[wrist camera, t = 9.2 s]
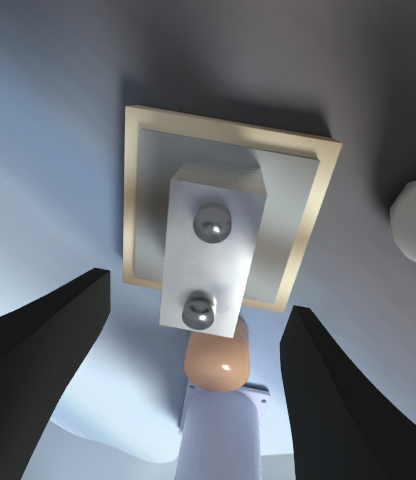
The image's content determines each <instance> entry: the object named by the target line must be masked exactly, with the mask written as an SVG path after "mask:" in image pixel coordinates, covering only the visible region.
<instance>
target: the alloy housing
mask: <svg viewBox="0 0 416 480" xmlns="http://www.w3.org/2000/svg"><path fill="white" fill-rule="evenodd" d="M266 199H267V191H266V187H265V183H264V179H263V174H262V170H261V167H255V166H249V165H243V164H237V163H231V162H225V161H218V160H212V159H206V158H200V157H194V156H190V157H189V158H188V159H187V160H186V162H185V163H184V164H183V165H182V166H181V168H180V169H179V170H178V171H177V172H176V173H175V175H174V176H173V177H172V178H171V180H170V193H169V206H168V219H167V232H166V245H165V257H164V270H163V283H162V296H161V309H160V321H159V325H164V326H169V327H175V328H180V329H186V330H191V331H196V332H202V333H207V334H213V335H218V336H224V337H229V338H233V336H234V332H235V328H236V324H237V320H238V315H239V311H240V307H241V303H242V299H243V295H244V291H245V286H246V282H247V278H248V274H249V270H250V266H251V261H252V257H253V253H254V249H255V245H256V241H257V237H258V232H259V228H260V224H261V220H262V216H263V212H264V208H265V203H266Z"/></svg>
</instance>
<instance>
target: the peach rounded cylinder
mask: <svg viewBox="0 0 416 480" xmlns="http://www.w3.org/2000/svg"><path fill="white" fill-rule="evenodd" d="M183 368H184V372H185V375H186V376H187V378H188V379H189V380H190V381H191V382H192V383H193V384H194V385H196V386H198V387H199V388H202V389H204V390H207V391H211V392H229V391H233V390H236V389H238V388H240V387H241V386H243V385H244V384H245V383H246V381H247V380H248V378H249V374H250V365H249V331H248V327H247V325H246V323H245V322H244V320H243V319H242V318H241V317H239V316H238V320H237V324H236V328H235V332H234V336H233V338H229V337H224V336H218V335H213V334H207V333H202V332H196V331H191V332H190V337H189V342H188V346H187V351H186V355H185V360H184V365H183Z"/></svg>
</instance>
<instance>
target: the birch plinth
mask: <svg viewBox="0 0 416 480" xmlns="http://www.w3.org/2000/svg"><path fill="white" fill-rule="evenodd" d="M342 144H343V143H341V142H339V141H337V140H335V139H333V138H328V137H322V136H316V135H310V134H304V133H298V132H292V131H287V130H281V129H275V128H269V127H263V126H257V125H252V124H246V123H240V122H234V121H228V120H222V119H216V118H211V117H205V116H199V115H193V114H187V113H181V112H176V111H170V110H164V109H158V108H152V107H146V106H140V105H132V106H125V164H124V229H123V283H128V284H133V285H138V286H144V287H149V288H154V289H160V290H162V283H163V270H164V257H165V245H166V232H167V219H168V206H169V193H170V180H171V178H172V177H173V176H174V175H175V173H176V172H177V171H178V170H179V169H180V168H181V166H182V165H183V164H184V163H185V162H186V160H187V159H188V158H189V157H190V156H194V157H200V158H206V159H212V160H218V161H225V162H231V163H237V164H243V165H249V166H255V167H261V170H262V174H263V179H264V183H265V187H266V191H267V199H266V203H265V208H264V212H263V216H262V220H261V224H260V228H259V232H258V237H257V241H256V245H255V249H254V253H253V257H252V261H251V266H250V270H249V274H248V278H247V282H246V286H245V291H244V295H243V299H242V303H241V305H244V306H250V307H255V308H260V309H265V310H271V311H276V312H281V313H283V312H284V309H285V307H286V304H287V301H288V298H289V295H290V292H291V289H292V287H293V284H294V281H295V278H296V275H297V272H298V269H299V267H300V264H301V261H302V258H303V255H304V252H305V249H306V247H307V244H308V241H309V238H310V235H311V232H312V229H313V227H314V224H315V221H316V218H317V215H318V212H319V209H320V207H321V204H322V201H323V198H324V195H325V192H326V189H327V187H328V184H329V181H330V178H331V175H332V172H333V169H334V167H335V164H336V161H337V158H338V155H339V152H340V149H341V147H342Z"/></svg>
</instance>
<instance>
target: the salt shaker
mask: <svg viewBox="0 0 416 480" xmlns="http://www.w3.org/2000/svg"><path fill="white" fill-rule="evenodd" d="M390 222H391V231H392V239H393V240H394V242H395V243H396V245H397V246H398V247H399V248H400V249H401V251H402V252H403V253H404V254H405V256H406V257H408V258H409V259H411V260H413V261H414V262H416V180H415V181H412V182H408V183H407V184H406V186H405V187H404V188H403V190H402V191H401V193H400V194H399V196H398V197H397V199H396V200H395V202H394V203H393V204H392V206H391V207H390Z"/></svg>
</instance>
